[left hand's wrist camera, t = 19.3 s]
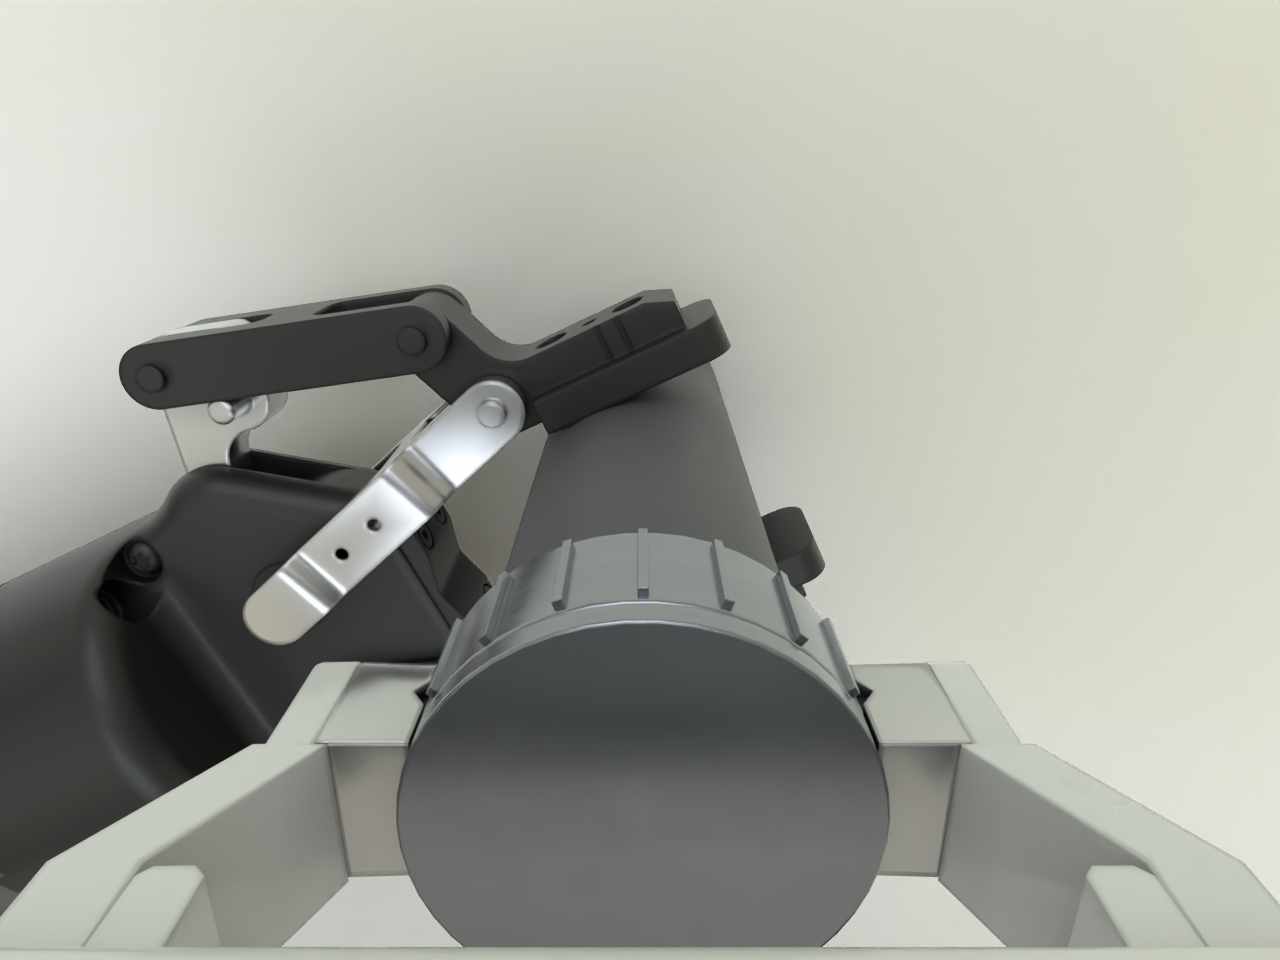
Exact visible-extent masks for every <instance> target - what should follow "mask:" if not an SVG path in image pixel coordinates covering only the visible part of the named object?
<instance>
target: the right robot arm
mask: <svg viewBox="0 0 1280 960" xmlns="http://www.w3.org/2000/svg"><path fill="white" fill-rule="evenodd" d="M730 346H731V345H730V343H729V340H728V338H727V336H726V333H725V331H724V329H723V327H722V324H721V322H720V320H719V317H718V315H717V313H716V311H715V308H714V306H713V304H712V302H711V300H710V299H706V300H701V301H698V302H695V303H693V304H690V305H688V306H686V307H684V308H682V309H680V306H679V304H678V302H677V300H676V297H675V295H674V293H673V291H672V289H662V290H646V291H642V292H640V293H638V294H636V295H634V296H632V297H630V298H627V299H625V300H623V301H621V302H619V303H618V304H616V305H613V306H611V307H609V308H606V309H604V310H602V311H600V312H599V313H597V314H594V315H592V316H590V317H588V318H586V319H583V320H581V321H579V322H577V323H575V324H573V325H571V326H569V327H567V328H565V329H562V330H560V331H558V332H556V333H554V334H552V335H550V336H548V337H546V338H544V339H541V340H539V341H537V342H534V343H531V344H526V345H517V344H511V343H508V342H505V341H503V340H501V339H499V338H498V337H496V336H495V335H494V334H493V333H491V332H490V331H489V330H488V329H487V328H486V327H485V326H484V325H483V324H482V323H481V322H480V321H478V320H477V319H476V318H475V317H474V316H473V315H472V314H471V309H470V306H469V304H468V302H467V300H466V299H465V297H464V296H463V295H462V294H461V293H460V292H459V291H457V290H456V289H454V288H452V287H449V286H446V285H432V286H425V287H418V288H411V289H405V290H398V291H391V292H384V293H378V294H371V295H364V296H357V297H351V298H344V299H337V300H330V301H323V302H317V303H310V304H303V305H296V306H290V307H283V308H276V309H269V310H263V311H256V312H249V313H242V314H235V315H229V316H222V317H215V318H208V319H203V320H200V321H197V322H195V323H192V324H190V325H187V326H185V327H181V328H179V329H176V330H174V331H171V332H169V333H166V334H164V335H161V336H159V337H156V338H154V339H152V340H150V341H147V342H145V343H142V344H140V345H137V346H135V347H133V348H131V349H129V350H128V351H127V352H126V353H125V354H124V355H123V357H122V359H121V361H120V365H119V376H120V380H121V383H122V385H123V387H124V389H125V390H126V392H127V393H128V394H129V395H130V396H131V397H132V398H133V399H134V400H135V401H136V402H138V403H139V404H141V405H143V406H145V407H148V408H151V409H158V410H162V409H164V412H165V414H166V417H167V420H168V423H169V426H170V428H171V431H172V434H173V437H174V439H175V442H176V445H177V448H178V450H179V453H180V456H181V459H182V462H183V464H184V467H185V470H186V473H187V474H186V475H184V476H183V477H182V478H180V479H179V480H178V481H177V482H176V484H175V485H174V486H173V487H172V489H171V490H170V492H169V494H168V496H167V498H166V500H165V502H164V503H163V505H162V506H161V508H160V509H159V510H157V511H155V512H153V513H151V514H149V515H147V516H145V517H142V518H140V519H138V520H136V521H134V522H132V523H130V524H128V525H126V526H124V527H121V528H119V529H117V530H115V531H113V532H111V533H109V534H107V535H105V536H103V537H101V538H98V539H96V540H94V541H92V542H90V543H88V544H86V545H84V546H82V547H80V548H78V549H75V550H73V551H71V552H69V553H67V554H65V555H63V556H61V557H59V558H57V559H55V560H52V561H50V562H48V563H46V564H44V565H42V566H40V567H38V568H36V569H34V570H32V571H29V572H28V573H25V574H23V575H21V576H19V577H17V578H15V579H13V580H11V581H9V582H6V583H4V584H2V585H0V917H1V915H2V914H3V913H4V912H5V911H6V909H7V908H8V907H9V906H10V905H11V904H12V902H13V901H14V900H15V899H16V898H17V896H18V895H19V894H20V893H21V892H22V890H23V889H24V888H25V887H26V886H27V884H28V883H29V882H30V881H31V880H32V878H33V877H34V876H35V875H36V874H37V872H38V871H39V870H40V869H41V868H42V866H43V865H44V864H45V863H46V862H47V861H49V860H50V859H52V858H54V857H56V856H57V855H59V854H61V853H63V852H64V851H66V850H68V849H70V848H72V847H73V846H75V845H77V844H79V843H80V842H82V841H84V840H86V839H87V838H89V837H91V836H93V835H94V834H96V833H98V832H100V831H101V830H103V829H105V828H107V827H108V826H110V825H112V824H114V823H115V822H117V821H119V820H121V819H122V818H124V817H126V816H128V815H129V814H131V813H133V812H135V811H136V810H138V809H140V808H142V807H143V806H145V805H147V804H149V803H150V802H152V801H154V800H156V799H157V798H159V797H161V796H163V795H164V794H166V793H168V792H170V791H171V790H173V789H175V788H177V787H178V786H180V785H182V784H184V783H185V782H187V781H189V780H191V779H192V778H194V777H196V776H198V775H199V774H201V773H203V772H205V771H206V770H208V769H210V768H212V767H213V766H215V765H217V764H219V763H220V762H222V761H224V760H226V759H227V758H229V757H231V756H233V755H234V754H236V753H238V752H240V751H241V750H243V749H245V748H247V747H248V746H250V745H252V744H266V742H267V741H268V739H269V737H270V736H271V734H272V733H273V731H274V729H275V728H276V726H277V725H278V723H279V722H280V720H281V718H282V717H283V715H284V714H285V712H286V711H287V709H288V707H289V706H290V704H291V703H292V701H293V700H294V698H295V696H296V695H297V693H298V692H299V690H300V688H301V687H302V685H303V684H304V682H305V681H306V679H307V677H308V676H309V674H310V673H311V671H312V670H313V668H314V667H315V666H316V665H317V664H320V663H322V662H360V663H363V662H383V663H432V664H437V663H438V661H439V658H440V656H441V653H442V650H443V648H444V645H445V643H446V640H447V638H448V635H449V633H450V630H451V627H452V625H453V623H454V621H455V620H456V618H459V619H460V620H462V621H463V619H464V618H465V617H466V615H467V614H468V613H469V612H470V610H471V609H472V608H473V606H474V605H475V604H476V603H477V601H478V600H479V599H480V598H481V597H483V596H484V595H485V594H486V593H487V592H488V591H489V590H490V589H491V588H492V585H491V584H490V582H489V581H488V579H487V577H486V576H485V574H484V573H483V572H481V571H480V570H479V569H478V568H477V567H476V566H475V565H474V564H473V563H472V562H471V561H470V560H469V559H468V558H467V557H466V556H465V555H464V554H463V553H462V552H461V550H460V549H459V546H458V542H457V539H456V535H455V532H454V528H453V525H452V521H451V518H450V516H449V514H448V512H447V511H446V509H445V507H444V506H443V504H444V503H445V502H446V500H447V499H448V498H449V497H450V496H451V495H452V494H453V492H454V491H455V490H456V489H458V488H459V487H460V486H461V485H462V484H463V483H464V482H465V481H466V480H468V479H469V478H470V477H471V476H472V475H473V474H474V473H475V472H476V471H478V470H479V469H480V468H481V467H482V466H483V465H484V464H485V463H486V462H488V461H489V460H490V459H491V458H492V457H493V456H494V455H495V454H496V453H498V452H499V451H500V450H501V449H502V448H503V447H504V446H505V445H507V444H508V443H509V442H510V441H511V440H512V439H513V438H514V437H515V436H516V435H517V434H518V433H520V432H522V431H524V430H526V429H528V428H531V427H533V426H535V425H537V424H539V423H541V422H542V423H543V425H544V427H545V429H546V431H547V433H548V434H549V435H550V434H552V433H554V432H557V431H559V430H561V429H563V428H565V427H568V426H570V425H572V424H574V423H576V422H579V421H581V420H583V419H584V418H587V417H589V416H591V415H593V414H595V413H597V412H600V411H603V410H605V409H607V408H609V407H611V406H614V405H616V404H618V403H620V402H622V401H625V400H627V399H629V398H631V397H633V396H636V395H638V394H640V393H642V392H644V391H646V390H649V389H651V388H653V387H655V386H657V385H660V384H662V383H664V382H666V381H668V380H671V379H673V378H675V377H677V376H679V375H682V374H684V373H686V372H688V371H690V370H693V369H695V368H697V367H699V366H701V365H703V364H706V363H708V362H710V361H712V360H714V359H716V358H717V357H719V356H721V355H722V354H724V353H725V352H726V351H727V350H728V349H729V348H730ZM409 374H416V375H417V376H418V377H419V378H420V379H421V380H422V381H423V382H425V383H426V384H427V385H428V386H429V387H430V388H431V389H433V390H434V391H435V392H436V393H437V394H438V395H439V396H440V397H442V398H443V399H444V400H445V401H444V402H443V403H442V404H441V405H440V406H439V407H438V408H436V409H435V410H434V411H432V412H431V413H430V414H428V415H427V416H426V417H425V418H424V419H423V420H422V421H421V422H420V423H419V424H418V425H417V426H415V427H414V428H413V429H412V430H411V431H410V432H409V433H408V434H407V435H406V436H405V437H404V438H403V439H402V440H401V441H399V442H398V443H397V444H396V445H395V446H394V447H393V448H392V449H391V450H390V451H389V452H388V453H387V454H386V455H385V456H384V457H382V458H381V459H380V460H379V461H378V462H377V463H376V464H375V465H374V466H373V467H372V468H371V469H367V468H361V467H356V466H350V465H344V464H338V463H332V462H327V461H321V460H315V459H309V458H303V457H298V456H292V455H286V454H280V453H275V452H269V451H263V450H257V449H251V448H249V441H248V439H249V434H250V431H251V430H253V429H255V428H257V427H259V426H260V425H262V424H263V423H264V422H266V421H267V420H268V419H270V418H271V417H272V416H274V415H275V414H277V413H278V412H279V411H280V410H281V409H282V408H283V407H284V405H285V404H286V401H287V397H288V392H290V391H297V390H304V389H311V388H318V387H325V386H332V385H339V384H346V383H353V382H360V381H367V380H374V379H381V378H388V377H395V376H402V375H409ZM761 519H762V522H763V525H764V528H765V531H766V534H767V537H768V540H769V543H770V546H771V549H772V552H773V555H774V559H775V562H776V565H777V568H778V571H780V570H781V571H782V572H784V573H785V574H786V575H787V577H788V580H789V583H790V585H791V586H792V587H793V588H794V589H795V590H796V591H798V592H799V593H800V594H801V595H802V596H803V597H805V596H806V593H805V590H804V587H803V584H805V583H807V582H809V581H811V580H813V579H815V578H816V577H817V576H818V575H820V574H821V572H822V571H823V569H824V567H825V563H824V560H823V558H822V556H821V553H820V551H819V549H818V546H817V544H816V542H815V540H814V537H813V535H812V533H811V530H810V528H809V526H808V524H807V521H806V519H805V517H804V515H803V512H802V510H801V509H800V508H797V507H786V508H782V509H779V510H776V511H774V512H772V513H769V514H767V515H764V516H762V517H761Z"/></svg>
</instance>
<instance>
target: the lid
mask: <svg viewBox="0 0 1280 960" xmlns="http://www.w3.org/2000/svg"><path fill="white" fill-rule="evenodd" d="M859 694H860V691H859V689H858V686H857V684H856V681H855V679H854V677H853V674H852V672H851V669H850V667H849V664H848V662H847V659H846V657H845V654H844V652H843V649H842V647H841V644H840V642H839V639H838V637H837V634H836V632H835V629H834V627H833V624H832V623H831V621H830V620H829V618H826V619H824V620H823V621H822V619H821V617H820V616H819V615H818V614H817V613H816V611H815V610H814V609H813V608H812V606H811V605H810V604H809V603H808V601H807V600H806V599H805V598H804V597H803V596H802V595H801V594H800V593H799V592H798V591H796V590H795V589H794V588H793V587H792V586H791V585H790V583H789V580H788V577H787V575H786V574H785V573H784V572H782V571H781V570H780V571H779V572H778V573H777V574H776V573H774V572H773V571H771V570H770V569H768V568H767V567H766V566H764V565H762V564H760V563H758V562H757V561H755V560H753V559H751V558H749V557H747V556H745V555H743V554H741V553H739V552H736V551H734V550H731V549H728V548H726V547H724V546H723V542H722V541H720V540H717V539H713V542H708V541H704V540H699V539H695V538H691V537H687V536H681V535H672V534H662V533H648V529H647V528H639V529H638V533H622V534H614V535H606V536H598V537H594V538H590V539H586V540H582V541H578V542H574V543H573V541H572V539H569V540H565V541H563V542H562V547H560V548H557V549H554V550H552V551H549V552H547V553H544V554H542V555H540V556H538V557H536V558H534V559H533V560H531V561H529V562H527V563H525V564H523V565H522V566H520V567H518V568H517V569H515V570H514V571H512V572H511V573H510V574H508V573H507V572H506V571H503V572H502V573H500V574H499V575H498V578H497V581H496V584H495V585H494V586H493V587H492V588H491V589H490V590H489V591H488V592H487V593H486V594H485V595H484V596H483V597H481V598H480V599H479V600H478V601H477V603H476V604H475V605H474V606H473V608H472V609H471V610H470V612H469V613H468V614H467V615H466V617H465V618H464V619H463V621H462V620H460V619H459V618H456V620H455V621H454V623H453V625H452V627H451V630H450V633H449V635H448V638H447V640H446V643H445V645H444V648H443V650H442V653H441V656H440V658H439V661H438V663H437V666H436V668H435V671H434V673H433V676H432V679H431V681H430V684H429V686H428V689H427V691H426V695H428V696H429V699H428V700H426V701H424V702H422V703H423V705H424V712H423V715H422V717H421V720H420V723H419V725H418V728H417V730H416V733H415V736H414V738H413V741H412V743H411V746H410V749H409V752H408V754H407V757H406V760H405V762H404V765H403V768H402V770H401V776H400V781H399V786H398V791H397V800H396V825H397V832H398V838H399V845H400V850H401V853H402V856H403V859H404V863H405V866H406V869H407V872H408V874H409V876H410V878H411V880H412V882H413V885H414V887H415V889H416V891H417V893H418V895H419V896H420V898H421V899H422V901H423V902H424V904H425V905H426V906H427V908H428V909H429V911H430V912H431V914H432V915H433V917H434V918H435V919H436V920H437V921H438V922H439V923H440V924H441V925H442V927H443V928H444V929H445V930H446V931H447V932H448V933H449V934H450V935H451V936H452V937H453V938H454V939H455V940H456V941H457V942H459V943H460V944H461V945H462V946H463V947H822V946H823V945H825V944H826V943H827V942H828V941H829V940H830V939H831V938H832V937H834V936H835V935H836V934H837V933H838V932H839V931H840V930H841V928H842V927H843V926H844V925H845V924H846V923H847V922H848V920H849V919H850V918H851V917H852V916H853V915H854V914H855V912H856V911H857V909H858V908H859V906H860V905H861V903H862V902H863V900H864V898H865V897H866V895H867V894H868V892H869V890H870V888H871V886H872V884H873V882H874V880H875V878H876V876H877V873H878V871H879V869H880V866H881V862H882V859H883V856H884V852H885V849H886V845H887V839H888V831H889V823H890V803H889V790H888V785H887V780H886V776H885V771H884V767H883V764H882V761H881V759H880V756H879V754H878V751H877V749H876V746H875V744H874V741H873V738H872V736H871V733H870V731H869V728H868V726H867V723H866V721H865V718H864V715H863V705H864V702H863V701H861V700H859V699H857V698H856V696H857V695H859Z"/></svg>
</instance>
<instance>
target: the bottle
mask: <svg viewBox="0 0 1280 960" xmlns="http://www.w3.org/2000/svg"><path fill="white" fill-rule="evenodd" d="M639 528H647V529H648V533H662V534H672V535H681V536H687V537H691V538H695V539H699V540H704V541H708V542H713V539H717V540H720V541H722V542H723V546H724V547H726V548H728V549H731V550H734V551H736V552H739V553H741V554H743V555H745V556H747V557H749V558H751V559H753V560H755V561H757V562H758V563H760V564H762V565H764V566H766V567H767V568H768V569H770V570H771V571H773V572H774V573H776V574H777V573H778V572H779V571H778V568H777V565H776V562H775V559H774V555H773V552H772V549H771V546H770V543H769V540H768V537H767V534H766V531H765V528H764V525H763V522H762V519H761V516H760V513H759V509H758V506H757V503H756V500H755V497H754V494H753V491H752V488H751V485H750V482H749V479H748V476H747V473H746V470H745V467H744V463H743V460H742V457H741V454H740V451H739V448H738V445H737V442H736V439H735V436H734V433H733V430H732V427H731V424H730V421H729V417H728V414H727V411H726V408H725V405H724V402H723V399H722V396H721V393H720V390H719V387H718V384H717V381H716V378H715V374H714V372H713V370H712V367H711V365H710V363H709V362H708V363H706V364H703V365H701V366H699V367H697V368H695V369H693V370H690V371H688V372H686V373H684V374H682V375H679V376H677V377H675V378H673V379H671V380H668V381H666V382H664V383H662V384H660V385H657V386H655V387H653V388H651V389H649V390H646V391H644V392H642V393H640V394H638V395H636V396H633V397H631V398H629V399H627V400H625V401H622V402H620V403H618V404H616V405H614V406H611V407H609V408H607V409H605V410H603V411H600V412H597V413H595V414H593V415H591V416H589V417H587V418H584V419H583V420H581V421H579V422H576V423H574V424H572V425H570V426H568V427H565V428H563V429H561V430H559V431H557V432H554V433H552V434H550V435H549V434H548V437H547V440H546V443H545V447H544V450H543V453H542V456H541V459H540V462H539V466H538V469H537V472H536V475H535V478H534V482H533V485H532V488H531V491H530V494H529V497H528V501H527V504H526V507H525V510H524V513H523V516H522V520H521V523H520V526H519V529H518V532H517V536H516V539H515V542H514V545H513V548H512V551H511V555H510V558H509V561H508V564H507V567H506V572H507V573H508V574H510V573H511V572H512V571H514V570H515V569H517V568H518V567H520V566H522V565H523V564H525V563H527V562H529V561H531V560H533V559H534V558H536V557H538V556H540V555H542V554H544V553H547V552H549V551H552V550H554V549H557V548H560V547H562V542H563V541H565V540H569V539H572V541H573V543H574V542H578V541H582V540H586V539H590V538H594V537H598V536H606V535H614V534H622V533H638V529H639Z"/></svg>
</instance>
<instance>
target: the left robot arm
mask: <svg viewBox="0 0 1280 960" xmlns="http://www.w3.org/2000/svg"><path fill="white" fill-rule="evenodd" d="M436 666H437V664H432V663H383V662H363V663H360V662H322V663H320V664H317V665H316V666H315V667H314V668H313V670H312V671H311V673H310V674H309V676H308V677H307V679H306V681H305V682H304V684H303V685H302V687H301V688H300V690H299V692H298V693H297V695H296V696H295V698H294V700H293V701H292V703H291V704H290V706H289V707H288V709H287V711H286V712H285V714H284V715H283V717H282V718H281V720H280V722H279V723H278V725H277V726H276V728H275V729H274V731H273V733H272V734H271V736H270V737H269V739H268V741H267V742H266V744H252V745H250V746H248V747H247V748H245V749H243V750H241V751H240V752H238V753H236V754H234V755H233V756H231V757H229V758H227V759H226V760H224V761H222V762H220V763H219V764H217V765H215V766H213V767H212V768H210V769H208V770H206V771H205V772H203V773H201V774H199V775H198V776H196V777H194V778H192V779H191V780H189V781H187V782H185V783H184V784H182V785H180V786H178V787H177V788H175V789H173V790H171V791H170V792H168V793H166V794H164V795H163V796H161V797H159V798H157V799H156V800H154V801H152V802H150V803H149V804H147V805H145V806H143V807H142V808H140V809H138V810H136V811H135V812H133V813H131V814H129V815H128V816H126V817H124V818H122V819H121V820H119V821H117V822H115V823H114V824H112V825H110V826H108V827H107V828H105V829H103V830H101V831H100V832H98V833H96V834H94V835H93V836H91V837H89V838H87V839H86V840H84V841H82V842H80V843H79V844H77V845H75V846H73V847H72V848H70V849H68V850H66V851H64V852H63V853H61V854H59V855H57V856H56V857H54V858H52V859H50V860H49V861H47V862H46V863H45V864H44V865H43V866H42V868H41V869H40V870H39V871H38V872H37V874H36V875H35V876H34V877H33V878H32V880H31V881H30V882H29V883H28V884H27V886H26V887H25V888H24V889H23V890H22V892H21V893H20V894H19V895H18V896H17V898H16V899H15V900H14V901H13V902H12V904H11V905H10V906H9V907H8V908H7V909H6V911H5V912H4V913H3V914H2V915H1V917H0V960H1280V905H1279V903H1278V902H1277V901H1276V900H1275V899H1274V897H1273V896H1272V895H1271V894H1270V893H1269V892H1268V890H1267V889H1266V888H1265V887H1264V886H1263V884H1262V883H1261V882H1260V881H1259V880H1258V879H1257V877H1256V876H1255V875H1254V874H1253V873H1252V871H1251V870H1250V869H1249V868H1248V867H1247V865H1246V864H1245V863H1243V862H1242V861H1240V860H1238V859H1236V858H1235V857H1233V856H1231V855H1229V854H1227V853H1226V852H1224V851H1222V850H1220V849H1219V848H1217V847H1215V846H1213V845H1212V844H1210V843H1208V842H1206V841H1205V840H1203V839H1201V838H1199V837H1198V836H1196V835H1194V834H1192V833H1191V832H1189V831H1187V830H1185V829H1183V828H1182V827H1180V826H1178V825H1176V824H1175V823H1173V822H1171V821H1169V820H1168V819H1166V818H1164V817H1162V816H1161V815H1159V814H1157V813H1155V812H1154V811H1152V810H1150V809H1148V808H1147V807H1145V806H1143V805H1141V804H1139V803H1138V802H1136V801H1134V800H1132V799H1131V798H1129V797H1127V796H1125V795H1124V794H1122V793H1120V792H1118V791H1117V790H1115V789H1113V788H1111V787H1110V786H1108V785H1106V784H1104V783H1102V782H1101V781H1099V780H1097V779H1095V778H1094V777H1092V776H1090V775H1088V774H1087V773H1085V772H1083V771H1081V770H1080V769H1078V768H1076V767H1074V766H1073V765H1071V764H1069V763H1067V762H1066V761H1064V760H1062V759H1060V758H1058V757H1057V756H1055V755H1053V754H1051V753H1050V752H1048V751H1046V750H1044V749H1043V748H1041V747H1039V746H1037V745H1036V744H1022V743H1021V741H1020V740H1019V738H1018V737H1017V735H1016V734H1015V732H1014V731H1013V729H1012V728H1011V726H1010V725H1009V723H1008V722H1007V720H1006V719H1005V717H1004V716H1003V714H1002V712H1001V711H1000V709H999V708H998V706H997V705H996V703H995V702H994V700H993V699H992V697H991V696H990V694H989V693H988V691H987V690H986V688H985V686H984V685H983V683H982V682H981V680H980V679H979V677H978V676H977V674H976V673H975V671H974V670H973V668H972V667H971V665H969V664H968V663H966V662H964V661H958V662H930V663H911V664H865V665H849V667H850V669H851V672H852V674H853V677H854V679H855V681H856V684H857V686H858V689H859V691H860V694H859V695H857V696H856V698H857V699H859V700H861V701H863V702H864V705H863V715H864V718H865V721H866V723H867V726H868V728H869V731H870V733H871V736H872V738H873V741H874V744H875V746H876V749H877V751H878V754H879V756H880V759H881V761H882V764H883V767H884V771H885V776H886V780H887V785H888V790H889V803H890V823H889V831H888V839H887V845H886V849H885V852H884V856H883V859H882V862H881V866H880V869H879V871H878V873H877V875H890V876H925V877H939V878H938V881H939V882H940V883H941V884H943V885H944V886H945V887H946V888H947V889H948V890H949V891H950V892H951V893H952V894H953V895H954V896H955V897H956V898H957V899H958V900H959V901H960V902H961V903H962V904H963V905H964V906H965V907H966V908H967V909H968V910H969V911H970V912H971V913H972V914H974V915H975V916H976V917H977V918H978V919H979V920H980V921H981V922H982V923H983V924H984V925H985V926H986V927H987V928H988V929H989V930H990V931H991V932H992V933H993V934H994V935H995V936H996V937H997V938H998V939H999V940H1000V941H1001V942H1002V943H1003V944H1005V945H1006V946H1007V947H281V946H282V945H283V944H284V943H285V942H286V941H287V940H288V939H290V938H291V937H292V936H293V935H294V934H295V933H296V932H297V931H298V930H299V929H300V928H301V927H302V926H303V925H304V924H305V923H306V922H307V921H308V920H309V919H310V918H311V917H312V916H313V915H314V914H315V913H316V912H317V911H318V910H319V909H320V908H321V907H322V906H323V905H324V904H326V903H327V902H328V901H329V900H330V899H331V898H332V897H333V896H334V895H335V894H336V893H337V892H338V891H339V890H340V889H341V888H342V887H343V886H344V885H345V884H346V883H347V882H348V877H361V876H396V875H409V874H408V872H407V869H406V866H405V863H404V859H403V856H402V853H401V850H400V845H399V838H398V832H397V825H396V800H397V791H398V786H399V781H400V776H401V770H402V768H403V765H404V762H405V760H406V757H407V754H408V752H409V749H410V746H411V743H412V741H413V738H414V736H415V733H416V730H417V728H418V725H419V723H420V720H421V717H422V715H423V712H424V705H423V703H422V702H424V701H426V700H428V699H429V696H428V695H426V691H427V689H428V686H429V684H430V681H431V679H432V676H433V673H434V671H435V668H436Z"/></svg>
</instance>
